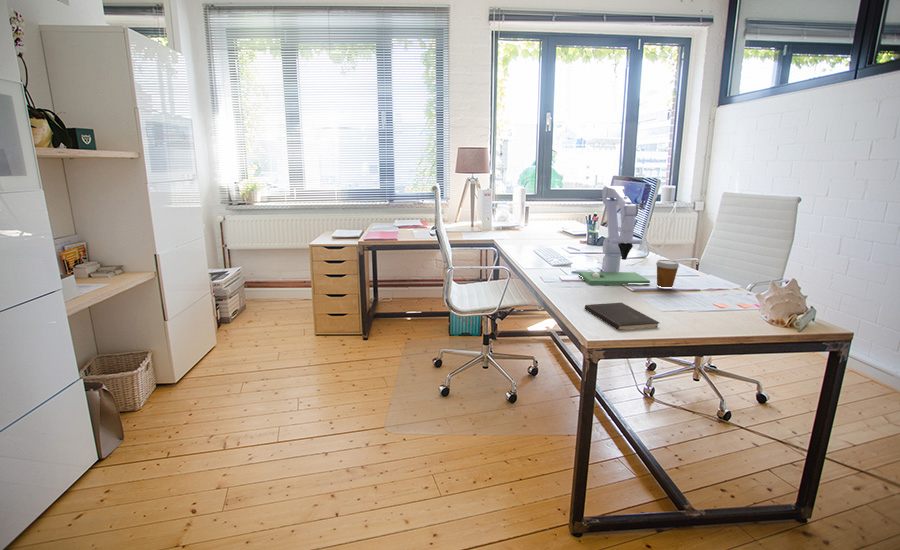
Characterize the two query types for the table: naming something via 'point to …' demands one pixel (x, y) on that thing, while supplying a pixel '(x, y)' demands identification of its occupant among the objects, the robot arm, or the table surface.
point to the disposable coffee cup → (666, 272)
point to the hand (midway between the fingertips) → (623, 259)
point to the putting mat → (613, 278)
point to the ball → (595, 275)
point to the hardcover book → (621, 316)
